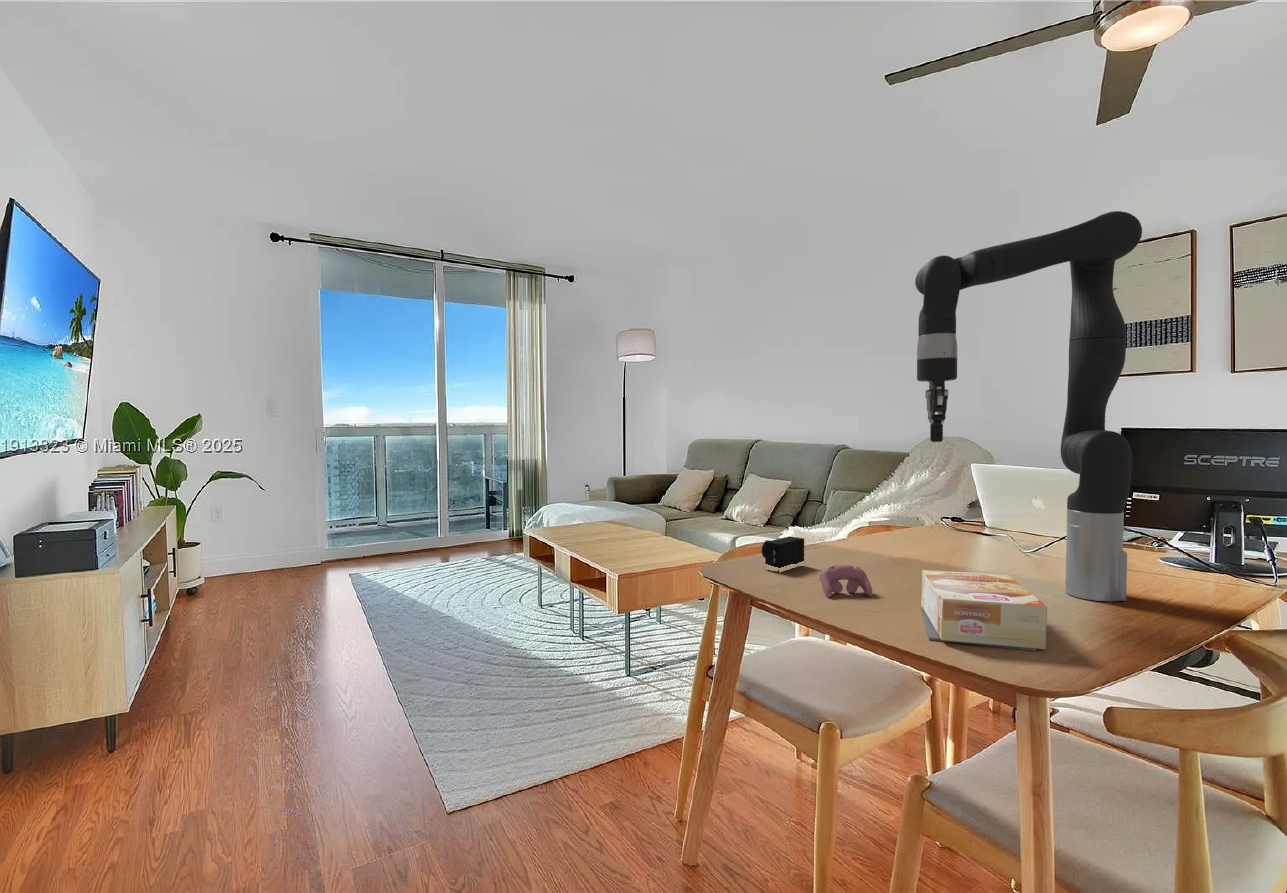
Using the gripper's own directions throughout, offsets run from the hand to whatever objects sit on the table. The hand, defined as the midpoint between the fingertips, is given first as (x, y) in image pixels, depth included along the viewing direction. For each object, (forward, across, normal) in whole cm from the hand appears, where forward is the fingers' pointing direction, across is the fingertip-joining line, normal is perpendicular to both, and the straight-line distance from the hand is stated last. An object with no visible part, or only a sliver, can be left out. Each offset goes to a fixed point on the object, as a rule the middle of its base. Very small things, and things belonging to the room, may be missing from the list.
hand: (936, 441), depth 129 cm
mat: (+31, -24, -3) cm, 39 cm away
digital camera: (+31, +12, +33) cm, 47 cm away
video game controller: (+31, -8, +18) cm, 37 cm away
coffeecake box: (+27, -14, -3) cm, 31 cm away
